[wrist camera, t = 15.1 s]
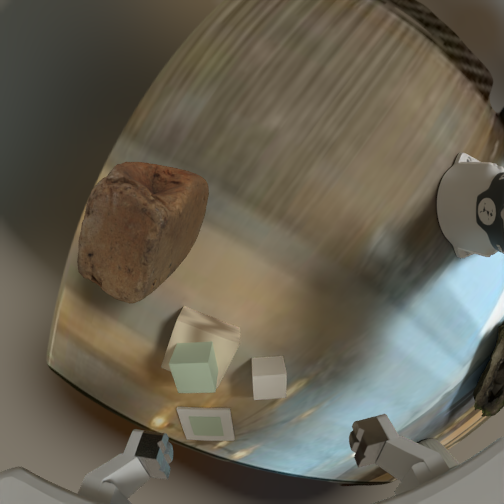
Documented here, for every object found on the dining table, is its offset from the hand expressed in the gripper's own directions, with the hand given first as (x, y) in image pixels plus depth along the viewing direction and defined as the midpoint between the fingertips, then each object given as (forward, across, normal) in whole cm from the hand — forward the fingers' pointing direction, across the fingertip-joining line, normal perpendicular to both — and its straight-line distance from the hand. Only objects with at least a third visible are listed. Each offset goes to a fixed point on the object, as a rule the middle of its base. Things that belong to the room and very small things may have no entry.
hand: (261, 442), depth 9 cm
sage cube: (+24, +8, +12) cm, 28 cm away
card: (+29, +10, +32) cm, 44 cm away
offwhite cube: (+29, -2, +18) cm, 34 cm away
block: (+29, +9, -8) cm, 32 cm away
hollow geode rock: (+29, -61, +30) cm, 74 cm away
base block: (+30, +8, +12) cm, 33 cm away
